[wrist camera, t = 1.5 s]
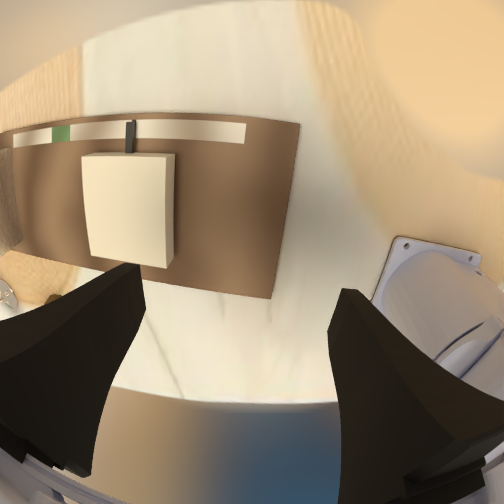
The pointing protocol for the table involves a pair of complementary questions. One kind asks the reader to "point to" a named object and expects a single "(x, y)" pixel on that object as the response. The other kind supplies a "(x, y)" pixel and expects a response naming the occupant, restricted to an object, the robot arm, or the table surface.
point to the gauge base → (185, 193)
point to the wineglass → (7, 294)
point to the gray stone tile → (8, 205)
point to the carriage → (130, 204)
